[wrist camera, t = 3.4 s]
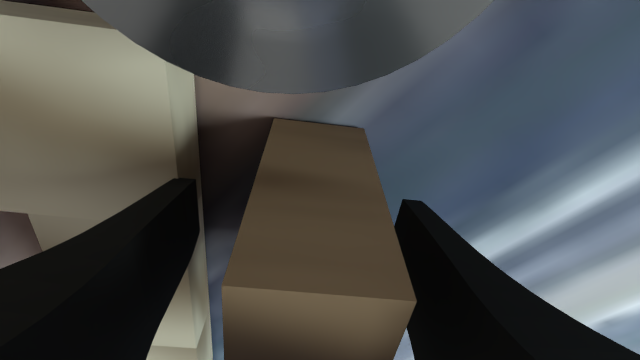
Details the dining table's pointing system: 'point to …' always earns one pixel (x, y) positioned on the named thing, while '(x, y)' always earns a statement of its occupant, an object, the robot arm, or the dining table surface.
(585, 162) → the dining table surface
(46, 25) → the slot board
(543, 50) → the dining table surface
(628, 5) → the dining table surface
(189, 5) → the metal round peg
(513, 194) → the dining table surface
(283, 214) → the walnut flat peg
